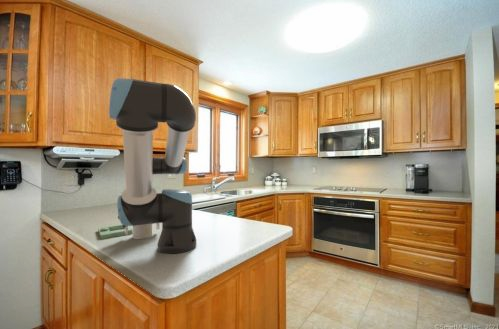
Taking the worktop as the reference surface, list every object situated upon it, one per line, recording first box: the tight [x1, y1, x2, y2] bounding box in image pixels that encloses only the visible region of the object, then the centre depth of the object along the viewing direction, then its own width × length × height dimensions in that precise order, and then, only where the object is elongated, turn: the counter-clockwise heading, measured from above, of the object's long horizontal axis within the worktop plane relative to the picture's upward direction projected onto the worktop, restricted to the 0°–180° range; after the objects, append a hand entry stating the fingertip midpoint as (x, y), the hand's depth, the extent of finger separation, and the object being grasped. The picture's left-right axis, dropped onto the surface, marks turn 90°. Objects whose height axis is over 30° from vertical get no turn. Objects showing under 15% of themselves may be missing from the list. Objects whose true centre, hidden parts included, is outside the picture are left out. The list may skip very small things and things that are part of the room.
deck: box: [97, 224, 133, 240], centre depth 113 cm, size 16×13×3 cm
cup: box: [132, 224, 153, 240], centre depth 107 cm, size 8×8×12 cm
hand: (142, 231), depth 107 cm, fingers open, 13 cm apart
